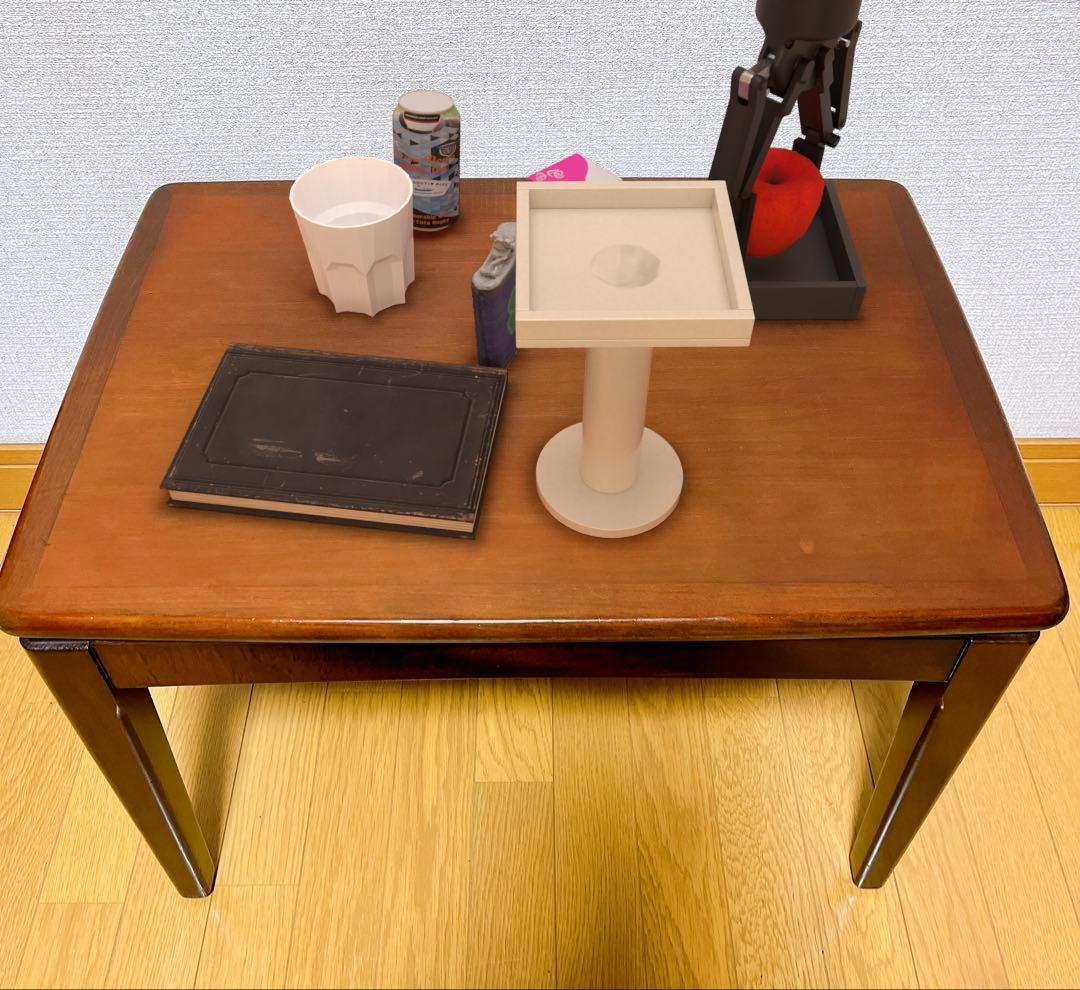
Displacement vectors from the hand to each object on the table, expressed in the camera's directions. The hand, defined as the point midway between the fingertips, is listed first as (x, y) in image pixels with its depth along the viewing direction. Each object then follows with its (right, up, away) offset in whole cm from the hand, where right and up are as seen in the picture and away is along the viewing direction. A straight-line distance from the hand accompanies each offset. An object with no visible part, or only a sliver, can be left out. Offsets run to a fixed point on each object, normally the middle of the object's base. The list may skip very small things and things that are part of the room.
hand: (763, 231), depth 90 cm
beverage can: (-30, +3, +8) cm, 31 cm away
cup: (-35, -5, +1) cm, 36 cm away
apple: (0, -1, +1) cm, 2 cm away
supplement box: (-17, -5, +1) cm, 18 cm away
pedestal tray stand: (-15, -22, -13) cm, 30 cm away
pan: (0, -2, +3) cm, 4 cm away
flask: (-23, -10, -3) cm, 25 cm away
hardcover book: (-35, -19, -11) cm, 41 cm away
